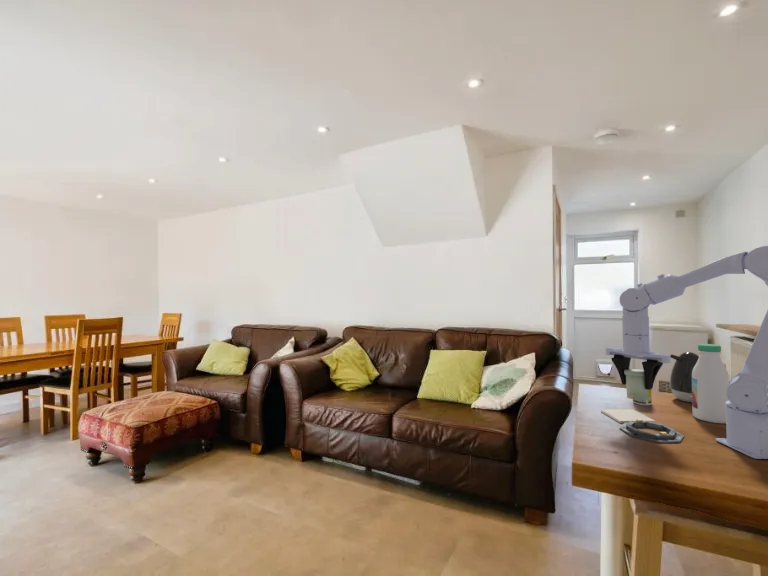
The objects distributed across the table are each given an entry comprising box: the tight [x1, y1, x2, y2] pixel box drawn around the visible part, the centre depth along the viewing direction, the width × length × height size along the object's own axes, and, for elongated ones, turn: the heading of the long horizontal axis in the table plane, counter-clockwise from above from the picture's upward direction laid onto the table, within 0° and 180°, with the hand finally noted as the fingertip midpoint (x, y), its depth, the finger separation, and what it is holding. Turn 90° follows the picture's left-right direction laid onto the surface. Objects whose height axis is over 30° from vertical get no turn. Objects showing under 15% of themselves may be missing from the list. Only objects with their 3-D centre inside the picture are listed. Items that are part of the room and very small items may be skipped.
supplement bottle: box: [632, 389, 653, 406], centre depth 112 cm, size 5×5×8 cm
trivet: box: [600, 408, 656, 424], centre depth 100 cm, size 9×9×1 cm
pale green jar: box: [624, 368, 648, 400], centre depth 95 cm, size 6×5×7 cm
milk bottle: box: [691, 343, 731, 424], centre depth 98 cm, size 8×8×20 cm
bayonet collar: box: [619, 419, 685, 444], centre depth 89 cm, size 12×12×2 cm
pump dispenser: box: [669, 351, 699, 404], centre depth 113 cm, size 10×10×15 cm
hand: (636, 386), depth 95 cm, fingers closed on pale green jar, 5 cm apart
